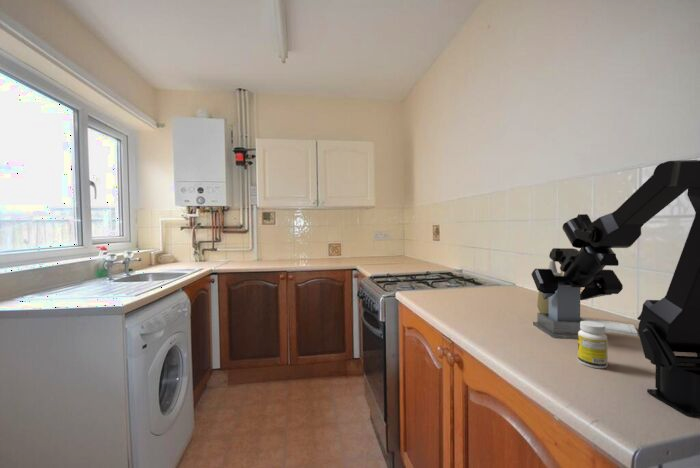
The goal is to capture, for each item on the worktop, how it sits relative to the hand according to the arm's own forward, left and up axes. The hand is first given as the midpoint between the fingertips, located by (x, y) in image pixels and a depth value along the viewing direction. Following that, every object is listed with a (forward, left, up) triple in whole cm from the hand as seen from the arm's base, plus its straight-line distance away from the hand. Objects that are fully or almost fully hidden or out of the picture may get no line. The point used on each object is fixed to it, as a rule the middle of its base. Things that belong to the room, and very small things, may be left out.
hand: (561, 298), depth 81 cm
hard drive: (+3, -14, -10) cm, 17 cm away
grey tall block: (-1, 0, -8) cm, 8 cm away
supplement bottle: (-21, +7, -9) cm, 24 cm away
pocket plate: (-1, 0, -9) cm, 9 cm away
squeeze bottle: (+10, -4, -9) cm, 14 cm away
